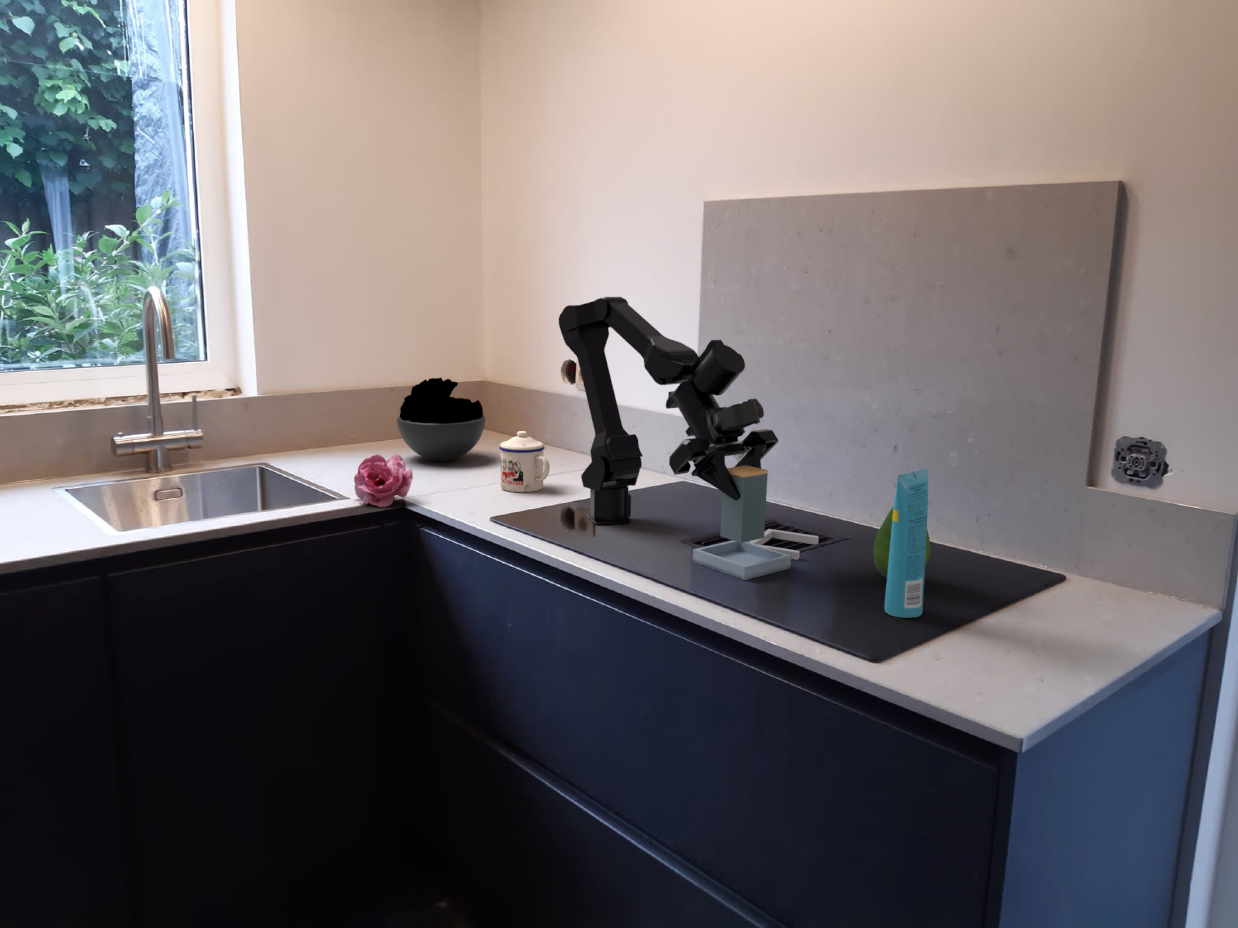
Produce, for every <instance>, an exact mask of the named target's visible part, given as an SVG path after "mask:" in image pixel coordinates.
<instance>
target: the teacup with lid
mask: <svg viewBox="0 0 1238 928" xmlns="http://www.w3.org/2000/svg"><path fill="white" fill-rule="evenodd" d="M516 435H517V436H513V437H511V438H510V439H508V440H506V441H502V442H501V443H500V444H499V445H500V446H499V450H500V488H501V489H502V490H504V491H506V492H512V493H532V492H538V491H541V490H542V489H543V488H544V480H546V479H547V477H548V476H549V474H550V471H551V469H550V468H551V467H550V462H549V460H548V459H547V458H546V457H545V456H544V450H545V445H544V443H543V442H541V441H538V440H536V439H535V438H532V437H531V436H528V432H527V431H525V430H524V431H523V430H521V431H517V433H516Z"/></svg>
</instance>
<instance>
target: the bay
mask: <svg viewBox="0 0 1238 928" xmlns="http://www.w3.org/2000/svg"><path fill="white" fill-rule="evenodd" d="M771 539H778V540H784V541H790V542H796V543H802V544H803V543H804V544H809V545H818V544H819V535H812V534H805V533H798V532H793V531H786V530H778V529H773V528H772V529H771V528H768V529H766V530H765V531H764V538H761V539H756V540H752V541H749V542H750V543H753V544H756V545H759V546H762V547H765V548H769V549H772V550H775V551H778V552H781V553H784V554H787V555H791V560H793V561H798V560H799V559H800V552H801V551H800V550H795V549H789V548H783V547H776V546H771V545H764V544H765V543H767V542H769V540H771Z"/></svg>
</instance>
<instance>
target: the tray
mask: <svg viewBox="0 0 1238 928" xmlns="http://www.w3.org/2000/svg"><path fill="white" fill-rule="evenodd" d="M791 562H792V559H791V555H787V554H784V553H781V552H778V551H775V550H772V549H769V548H765V547H762V546H759V545H756V544H753V543H750V541H747V542H743V543H740V542H737V541H733V540H729V541H725V542H719V543H717V544H716V543H715V544H711V545H707V546H702V547H699V548H694V549H692V563H694V564H697V565H701V566H703V567H706V568H709V569H712V570H715V571H718V572H721V573H723V574H725V575H728V576H731V577H733V578H737V579H739V580H742V581H747V580H750V579H754V578H758V577H762V576H766V575H770V574H773V573H778V572H781V571H784V570H785V571H786V570H789V569H791V564H792V563H791Z"/></svg>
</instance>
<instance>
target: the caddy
mask: <svg viewBox="0 0 1238 928" xmlns="http://www.w3.org/2000/svg"><path fill="white" fill-rule="evenodd" d="M727 469H728V471H729V473H730V475H731V477H732V479H733V481H734V483H735V484H736V486H737V489H738V491H739V493H740V498H739V499H738V500H736V501H735V500H733V499H732V498H731V497H729V496H728V495H726V494H725V493H723V492H722V491H721V511H720V513H721V514H720V534H719V535H720V537H722V538H724V539H726V540H727V539H728V540H729V541H737V542H740V543H743V542H750V541H752V540H756V539H761V538H764V532H765V531H766V530H765V528H766V512H767V511H766V509H767V494H768V493H767V492H768V490H767V489H768V473H769V471H768V469H764V468H761V469H760V468H756V467H752V466H748V465H745V466H738V467H735V466H732V467H727Z"/></svg>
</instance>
